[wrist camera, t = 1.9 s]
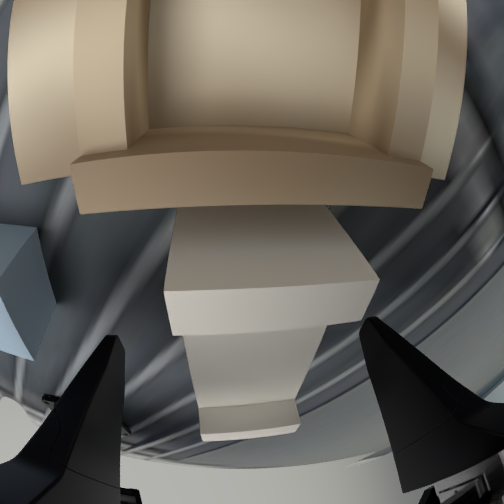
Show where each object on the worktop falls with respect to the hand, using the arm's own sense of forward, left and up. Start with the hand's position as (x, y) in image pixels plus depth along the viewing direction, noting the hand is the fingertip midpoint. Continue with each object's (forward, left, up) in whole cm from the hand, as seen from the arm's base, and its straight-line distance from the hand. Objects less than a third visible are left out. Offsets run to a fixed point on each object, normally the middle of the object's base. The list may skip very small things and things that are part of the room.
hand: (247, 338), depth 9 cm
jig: (+12, 0, -2) cm, 12 cm away
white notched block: (0, 0, -2) cm, 2 cm away
